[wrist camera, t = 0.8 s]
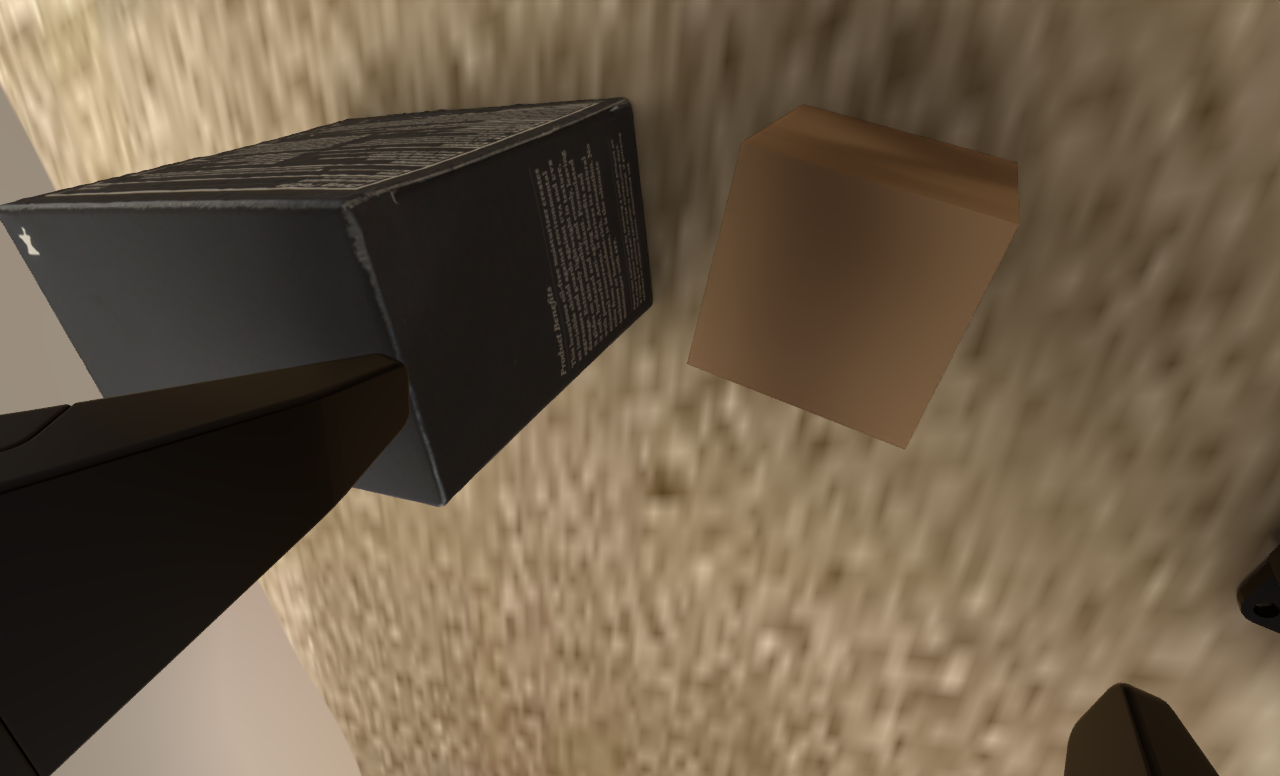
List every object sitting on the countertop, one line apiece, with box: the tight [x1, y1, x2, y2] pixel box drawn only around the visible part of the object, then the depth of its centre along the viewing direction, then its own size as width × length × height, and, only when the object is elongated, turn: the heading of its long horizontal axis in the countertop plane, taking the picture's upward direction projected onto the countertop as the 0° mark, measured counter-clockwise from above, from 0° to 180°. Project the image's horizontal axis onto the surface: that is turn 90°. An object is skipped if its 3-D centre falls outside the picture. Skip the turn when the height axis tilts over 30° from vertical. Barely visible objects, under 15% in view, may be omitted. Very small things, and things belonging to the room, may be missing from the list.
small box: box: [0, 98, 652, 507], centre depth 18 cm, size 11×6×10 cm, turn 98°
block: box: [687, 104, 1019, 449], centre depth 16 cm, size 5×5×5 cm
